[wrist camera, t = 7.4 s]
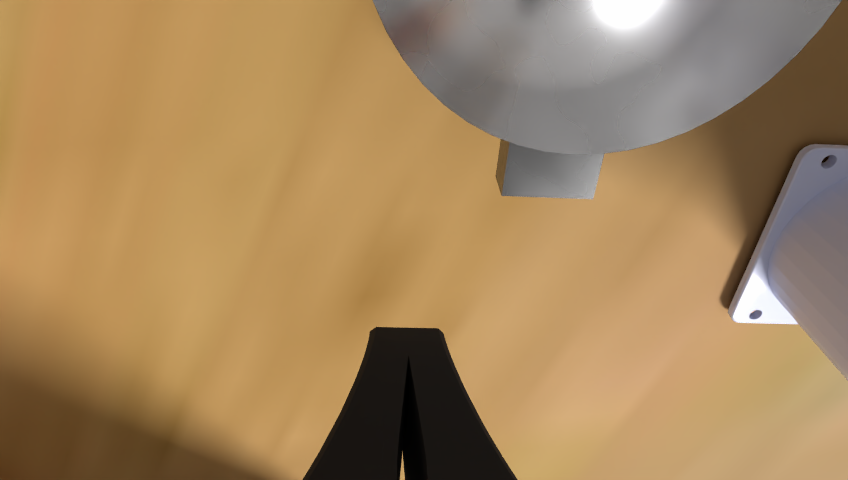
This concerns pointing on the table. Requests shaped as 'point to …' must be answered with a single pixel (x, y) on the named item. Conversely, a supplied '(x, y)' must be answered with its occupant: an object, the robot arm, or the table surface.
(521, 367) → the table surface
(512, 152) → the pot
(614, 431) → the table surface
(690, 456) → the table surface
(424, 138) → the table surface
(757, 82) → the lid
